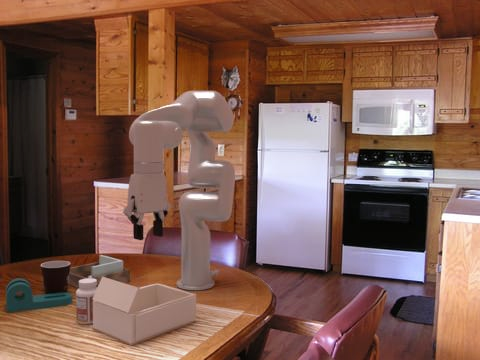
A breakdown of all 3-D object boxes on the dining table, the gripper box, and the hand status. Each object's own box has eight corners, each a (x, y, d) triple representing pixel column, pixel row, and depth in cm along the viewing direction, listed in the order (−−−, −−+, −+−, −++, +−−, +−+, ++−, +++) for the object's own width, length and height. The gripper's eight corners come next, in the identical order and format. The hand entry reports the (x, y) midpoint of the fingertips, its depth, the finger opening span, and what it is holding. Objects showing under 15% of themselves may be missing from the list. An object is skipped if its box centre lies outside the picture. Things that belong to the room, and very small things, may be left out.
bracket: (6, 313, 147) (6, 285, 147) (6, 306, 153) (5, 279, 153) (73, 305, 155) (73, 279, 154) (70, 298, 161) (70, 273, 160)
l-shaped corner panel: (101, 275, 187) (101, 254, 186) (123, 282, 180) (123, 260, 179) (71, 282, 178) (71, 261, 177) (93, 290, 170) (93, 267, 170)
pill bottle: (99, 315, 146) (98, 276, 145) (101, 323, 140) (101, 282, 139) (75, 318, 144) (75, 278, 143) (76, 325, 138) (76, 284, 137)
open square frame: (100, 272, 191) (100, 261, 190) (130, 281, 180) (130, 269, 180) (59, 281, 178) (59, 270, 177) (88, 291, 167) (88, 279, 167)
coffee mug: (61, 301, 158) (61, 268, 157) (35, 299, 159) (34, 266, 158) (80, 290, 169) (80, 259, 168) (56, 288, 171) (55, 257, 170)
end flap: (93, 300, 135) (104, 277, 137) (129, 313, 126) (139, 288, 128) (92, 299, 135) (102, 276, 136) (127, 312, 125) (138, 287, 127)
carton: (157, 307, 154) (157, 282, 153) (199, 321, 143) (199, 294, 142) (91, 328, 137) (90, 300, 136) (133, 346, 126) (133, 315, 125)
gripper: (163, 166, 145) (163, 231, 147) (112, 169, 132) (112, 240, 134) (182, 168, 141) (182, 235, 142) (131, 171, 127) (131, 244, 129)
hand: (148, 236), depth 138 cm, fingers open, 5 cm apart
